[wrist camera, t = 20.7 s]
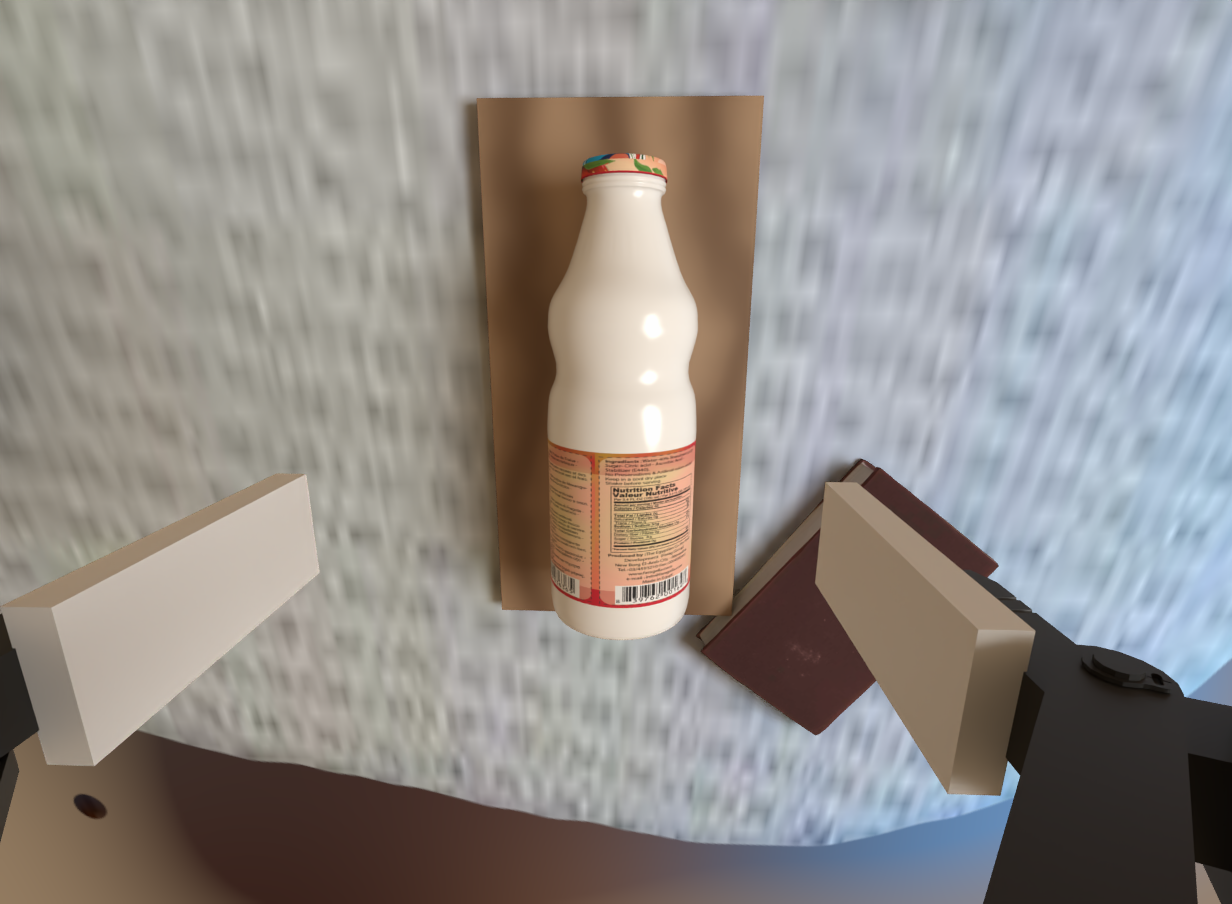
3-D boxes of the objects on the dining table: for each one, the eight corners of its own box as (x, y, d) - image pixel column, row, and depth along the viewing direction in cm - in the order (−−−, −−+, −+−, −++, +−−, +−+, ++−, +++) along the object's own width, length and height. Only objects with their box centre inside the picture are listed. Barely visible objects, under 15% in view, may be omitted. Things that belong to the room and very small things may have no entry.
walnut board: (505, 601, 47) (502, 609, 46) (481, 104, 38) (476, 98, 37) (729, 607, 46) (731, 615, 45) (760, 102, 37) (763, 95, 36)
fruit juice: (524, 623, 38) (507, 151, 31) (590, 566, 46) (589, 184, 39) (659, 660, 34) (675, 130, 27) (705, 590, 42) (726, 172, 35)
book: (981, 551, 44) (1007, 570, 41) (809, 715, 49) (820, 744, 46) (861, 453, 43) (878, 465, 40) (694, 631, 47) (698, 655, 44)
